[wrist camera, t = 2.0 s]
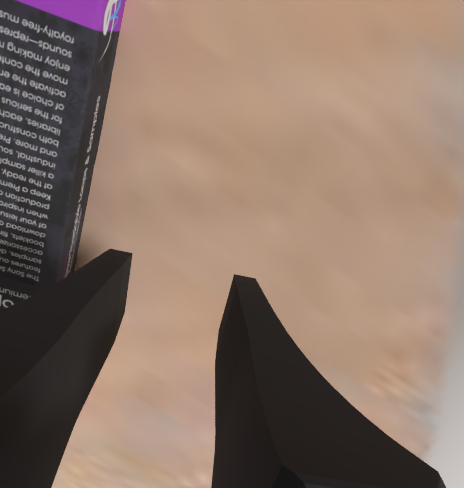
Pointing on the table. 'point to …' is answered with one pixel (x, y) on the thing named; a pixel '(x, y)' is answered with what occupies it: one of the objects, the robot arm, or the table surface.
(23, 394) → the robot arm
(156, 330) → the table surface
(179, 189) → the table surface
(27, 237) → the box
